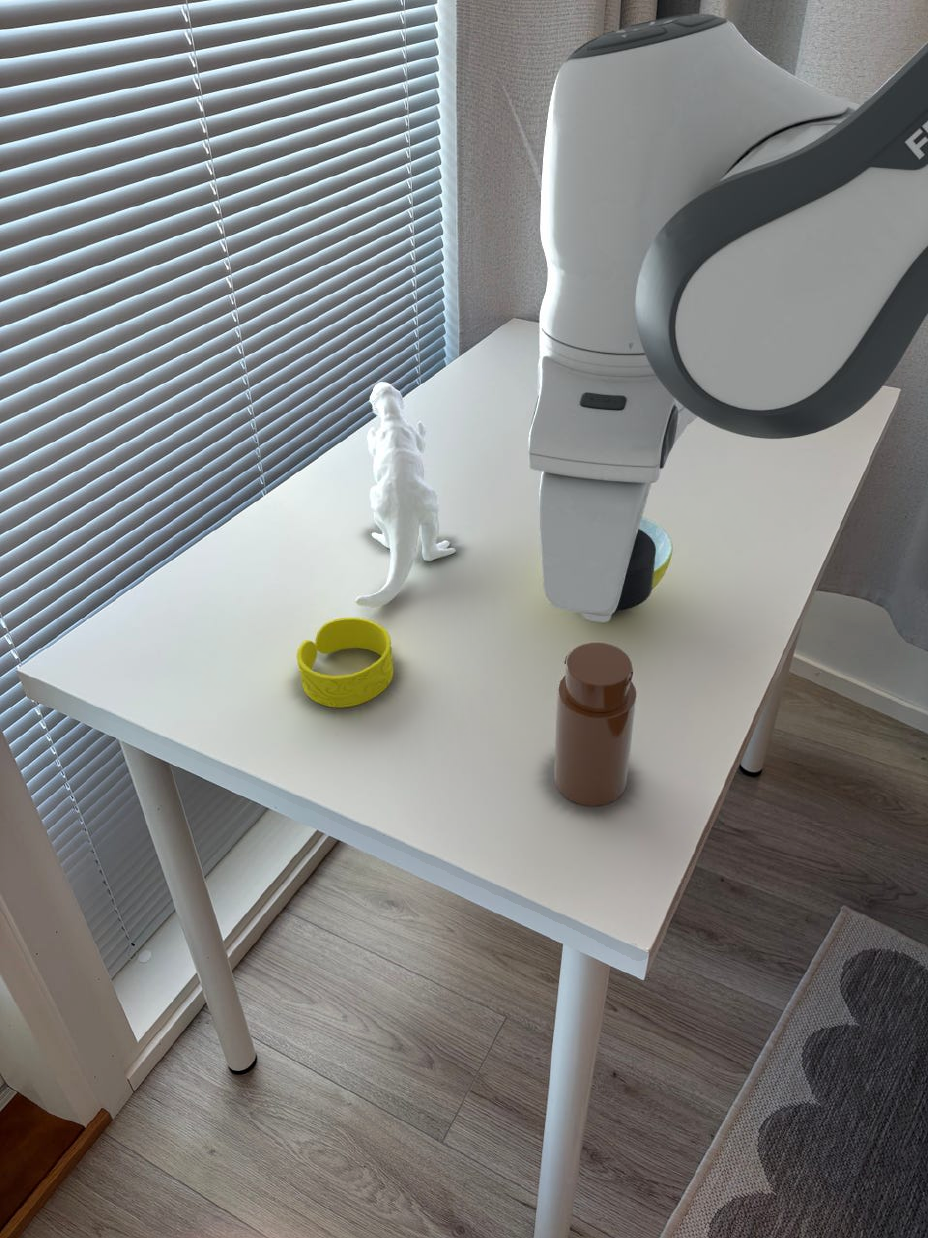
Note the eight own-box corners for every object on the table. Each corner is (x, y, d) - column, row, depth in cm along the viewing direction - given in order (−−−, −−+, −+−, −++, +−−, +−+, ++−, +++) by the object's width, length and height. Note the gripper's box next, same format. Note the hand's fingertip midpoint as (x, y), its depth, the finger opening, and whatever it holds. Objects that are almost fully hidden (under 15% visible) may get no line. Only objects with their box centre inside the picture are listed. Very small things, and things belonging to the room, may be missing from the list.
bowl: (525, 574, 91) (525, 520, 87) (636, 553, 93) (641, 499, 89) (565, 648, 83) (568, 591, 79) (686, 623, 85) (695, 566, 81)
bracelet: (410, 663, 82) (408, 633, 80) (355, 720, 77) (351, 691, 75) (342, 635, 85) (338, 607, 83) (285, 689, 80) (279, 660, 78)
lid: (552, 604, 58) (552, 568, 56) (570, 552, 62) (571, 517, 61) (645, 617, 57) (649, 580, 55) (658, 563, 61) (661, 527, 59)
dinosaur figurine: (381, 504, 102) (368, 374, 93) (469, 510, 100) (464, 379, 91) (327, 619, 87) (305, 479, 77) (430, 629, 85) (420, 486, 76)
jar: (631, 759, 72) (645, 644, 65) (620, 813, 68) (632, 697, 61) (562, 746, 74) (567, 631, 66) (546, 797, 70) (550, 682, 62)
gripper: (598, 300, 59) (588, 492, 68) (518, 457, 44) (519, 678, 53) (701, 307, 58) (678, 502, 66) (654, 472, 43) (632, 697, 51)
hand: (607, 582), depth 59 cm, fingers closed on lid, 5 cm apart
